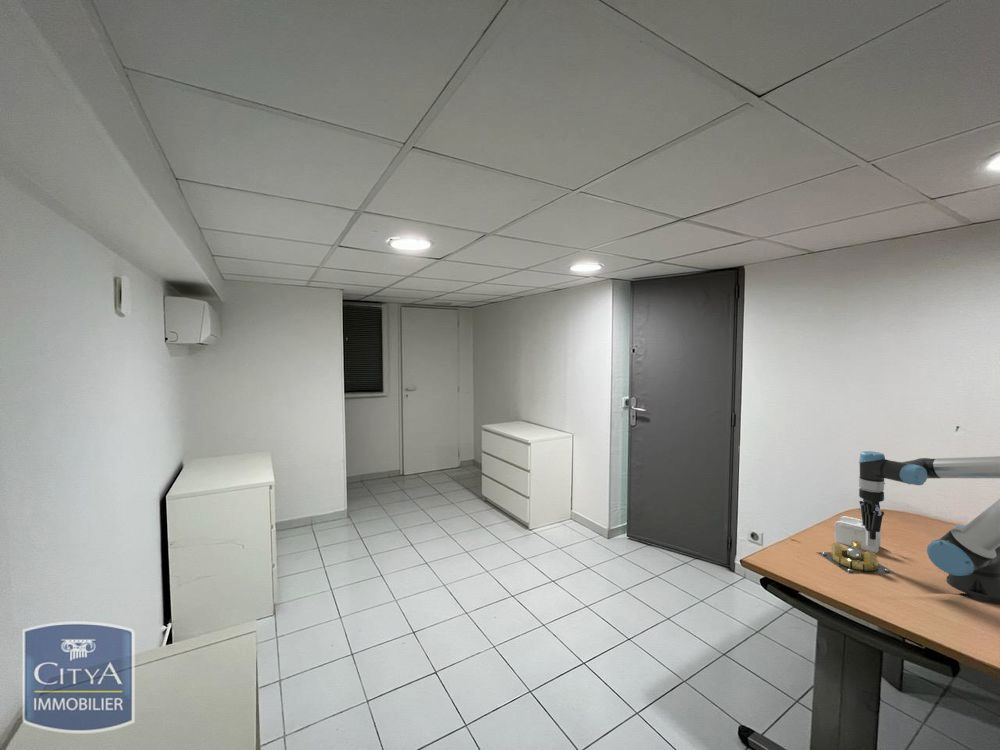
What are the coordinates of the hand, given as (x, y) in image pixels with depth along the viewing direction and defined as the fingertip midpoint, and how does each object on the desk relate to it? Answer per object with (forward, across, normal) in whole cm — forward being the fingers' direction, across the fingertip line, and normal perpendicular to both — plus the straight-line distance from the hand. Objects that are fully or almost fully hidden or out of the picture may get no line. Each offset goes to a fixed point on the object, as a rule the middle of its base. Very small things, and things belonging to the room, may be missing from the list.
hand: (870, 545), depth 166 cm
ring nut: (+8, 0, +6) cm, 10 cm away
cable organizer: (+10, +20, -4) cm, 23 cm away
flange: (+9, 0, +6) cm, 11 cm away
